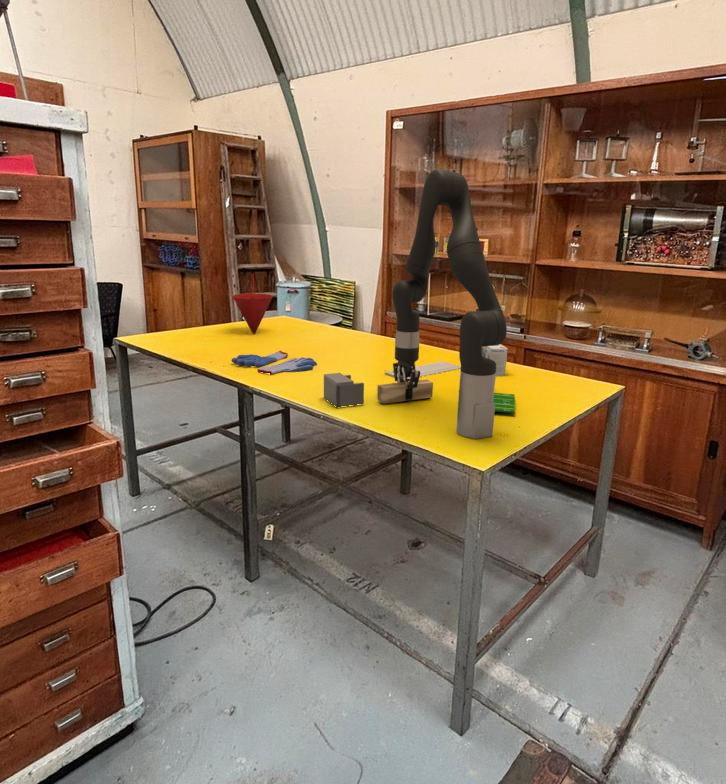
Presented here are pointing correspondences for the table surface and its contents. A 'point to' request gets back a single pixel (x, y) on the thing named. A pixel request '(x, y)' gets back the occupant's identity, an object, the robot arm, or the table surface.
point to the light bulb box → (497, 357)
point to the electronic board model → (504, 402)
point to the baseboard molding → (431, 369)
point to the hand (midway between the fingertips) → (405, 397)
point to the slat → (403, 391)
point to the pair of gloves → (287, 366)
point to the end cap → (342, 390)
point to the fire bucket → (252, 307)
